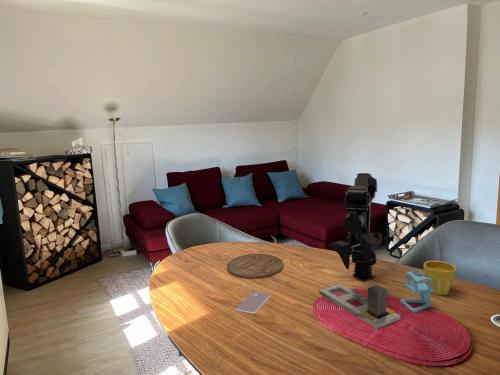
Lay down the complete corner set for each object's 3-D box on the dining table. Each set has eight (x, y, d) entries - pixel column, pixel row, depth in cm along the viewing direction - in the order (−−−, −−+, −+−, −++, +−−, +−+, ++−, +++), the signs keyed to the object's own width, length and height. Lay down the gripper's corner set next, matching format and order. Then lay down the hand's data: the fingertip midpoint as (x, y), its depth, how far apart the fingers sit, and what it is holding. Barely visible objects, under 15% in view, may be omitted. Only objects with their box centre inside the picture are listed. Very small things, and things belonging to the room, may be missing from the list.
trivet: (293, 262, 172) (293, 258, 172) (265, 284, 151) (265, 279, 151) (246, 254, 185) (246, 250, 185) (215, 273, 165) (215, 269, 164)
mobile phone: (234, 308, 131) (253, 290, 145) (234, 311, 131) (253, 292, 145) (254, 312, 128) (271, 293, 141) (254, 315, 128) (271, 295, 141)
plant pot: (453, 287, 140) (454, 262, 139) (455, 299, 131) (456, 273, 129) (422, 283, 145) (423, 258, 143) (422, 295, 135) (423, 269, 134)
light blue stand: (436, 309, 125) (437, 275, 123) (412, 312, 124) (414, 278, 122) (421, 299, 133) (423, 266, 131) (399, 301, 132) (401, 269, 129)
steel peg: (376, 312, 125) (376, 284, 123) (385, 318, 122) (386, 289, 120) (367, 316, 123) (367, 287, 121) (376, 321, 120) (377, 292, 118)
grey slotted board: (340, 287, 145) (340, 282, 144) (400, 319, 120) (400, 314, 120) (319, 294, 140) (319, 289, 140) (377, 329, 116) (377, 323, 115)
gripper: (354, 235, 120) (354, 280, 123) (394, 224, 129) (393, 267, 132) (330, 226, 130) (331, 269, 133) (369, 217, 138) (369, 257, 141)
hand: (357, 265), depth 134 cm, fingers open, 9 cm apart
